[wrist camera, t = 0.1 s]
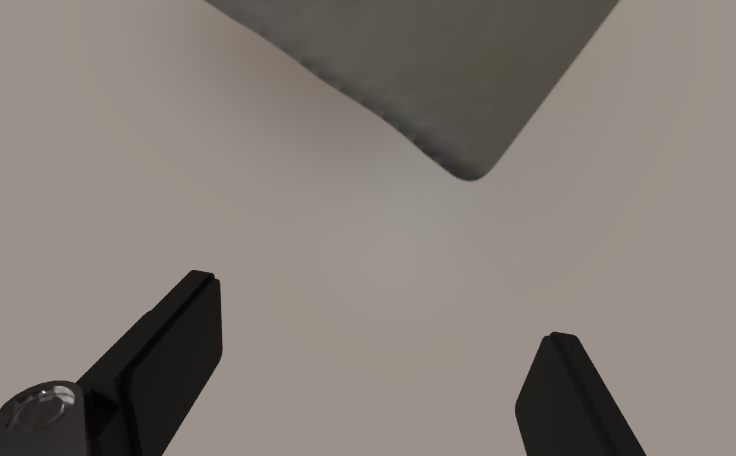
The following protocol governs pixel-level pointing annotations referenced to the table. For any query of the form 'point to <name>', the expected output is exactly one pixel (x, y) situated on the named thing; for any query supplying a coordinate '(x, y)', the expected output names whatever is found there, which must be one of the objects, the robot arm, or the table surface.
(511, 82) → the table surface
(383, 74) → the table surface
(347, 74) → the table surface
